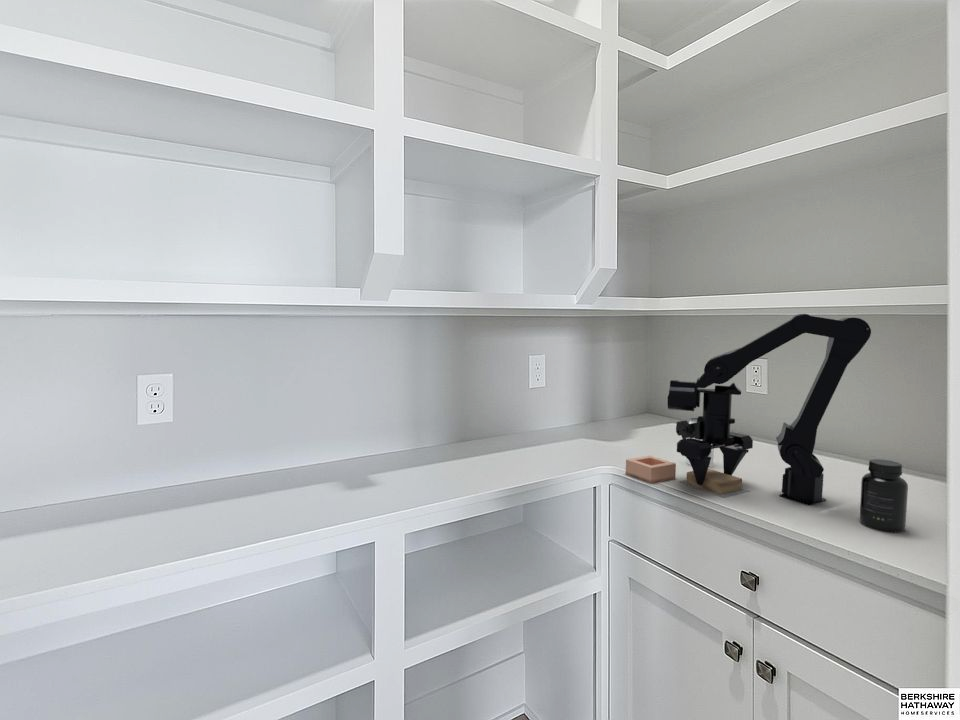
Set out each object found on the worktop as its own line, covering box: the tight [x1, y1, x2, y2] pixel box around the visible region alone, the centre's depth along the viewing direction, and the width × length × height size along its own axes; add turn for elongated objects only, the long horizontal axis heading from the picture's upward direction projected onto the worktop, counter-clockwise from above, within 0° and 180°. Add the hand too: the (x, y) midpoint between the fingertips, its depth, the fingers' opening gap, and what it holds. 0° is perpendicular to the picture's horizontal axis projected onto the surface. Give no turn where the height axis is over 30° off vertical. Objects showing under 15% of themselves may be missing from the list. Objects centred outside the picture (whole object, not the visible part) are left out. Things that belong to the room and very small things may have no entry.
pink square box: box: [625, 455, 677, 485], centre depth 125 cm, size 8×8×4 cm
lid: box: [685, 468, 743, 495], centre depth 118 cm, size 9×7×2 cm
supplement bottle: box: [859, 458, 909, 533], centre depth 97 cm, size 7×7×12 cm
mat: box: [678, 479, 751, 499], centre depth 118 cm, size 12×9×1 cm
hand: (713, 481), depth 118 cm, fingers open, 9 cm apart
